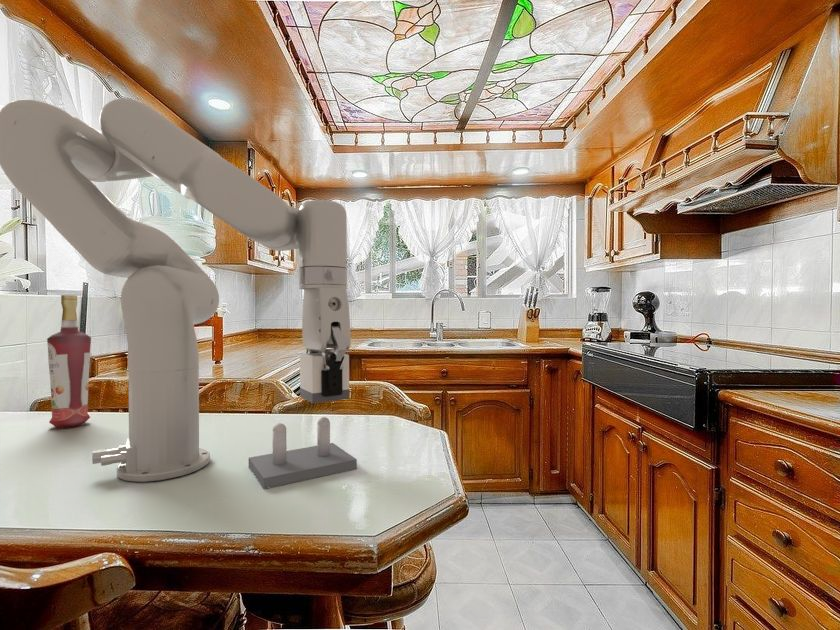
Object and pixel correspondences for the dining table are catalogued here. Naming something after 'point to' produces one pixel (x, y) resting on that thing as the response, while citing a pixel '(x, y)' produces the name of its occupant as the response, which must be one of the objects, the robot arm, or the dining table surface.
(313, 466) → the pin board
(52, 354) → the liquor
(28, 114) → the robot arm
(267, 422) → the dining table surface
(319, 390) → the sleeve
